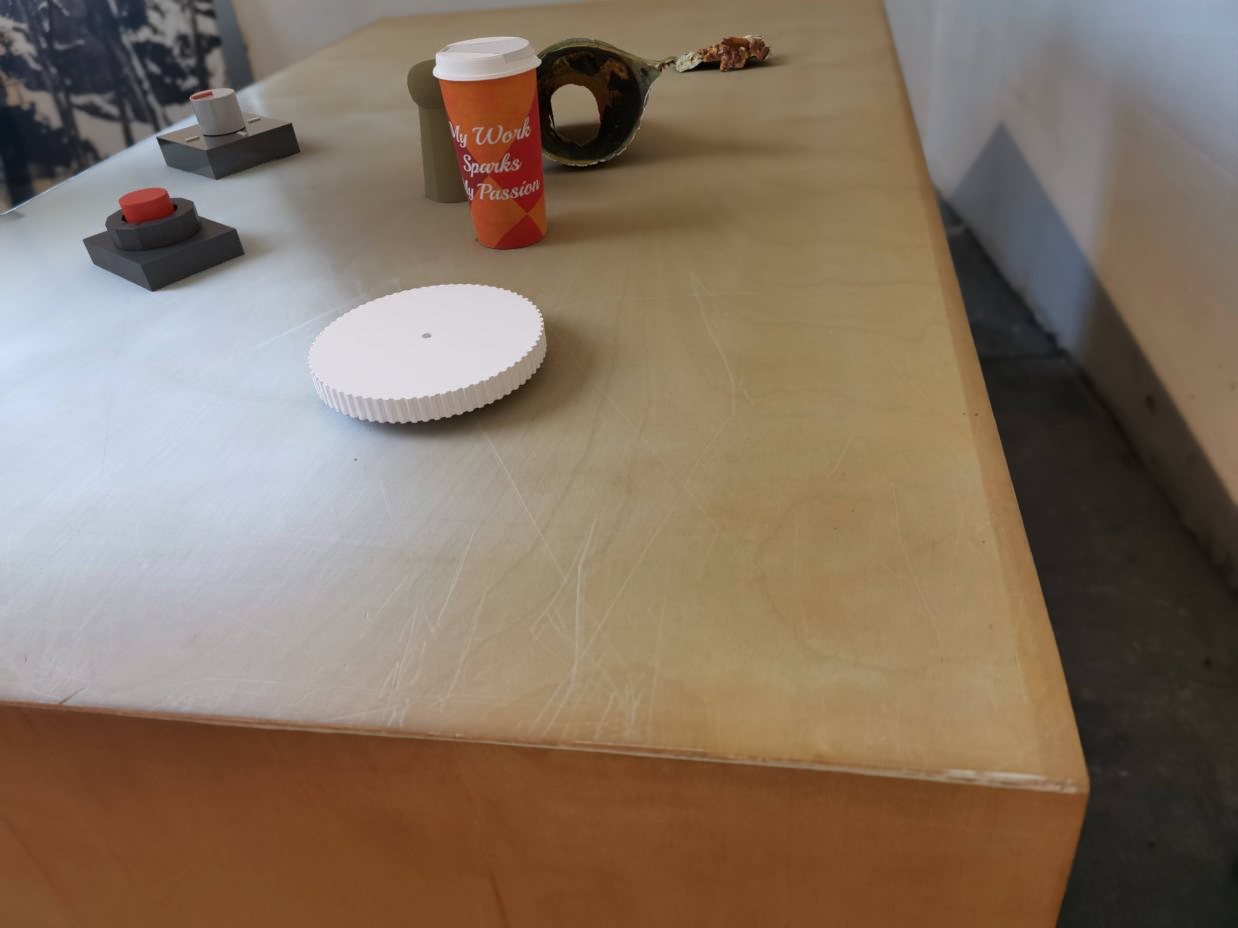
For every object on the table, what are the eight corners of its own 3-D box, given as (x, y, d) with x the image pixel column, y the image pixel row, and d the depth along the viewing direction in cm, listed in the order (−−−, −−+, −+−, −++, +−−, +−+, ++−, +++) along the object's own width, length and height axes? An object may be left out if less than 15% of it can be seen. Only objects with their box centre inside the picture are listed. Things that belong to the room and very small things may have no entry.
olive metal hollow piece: (631, 20, 90) (651, -16, 73) (675, 125, 94) (703, 114, 77) (484, 96, 91) (470, 78, 74) (533, 196, 95) (531, 201, 78)
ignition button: (119, 220, 68) (109, 199, 67) (161, 205, 70) (153, 184, 69) (140, 229, 66) (131, 207, 65) (184, 213, 69) (175, 192, 68)
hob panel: (166, 165, 92) (154, 135, 90) (249, 139, 98) (240, 110, 96) (216, 180, 86) (204, 148, 84) (300, 151, 92) (291, 121, 90)
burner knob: (231, 121, 93) (218, 83, 90) (253, 126, 90) (241, 87, 88) (193, 132, 90) (179, 94, 88) (215, 138, 88) (202, 98, 85)
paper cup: (452, 254, 67) (413, 62, 59) (480, 217, 73) (449, 37, 65) (549, 255, 66) (523, 57, 57) (570, 216, 72) (549, 32, 63)
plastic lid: (591, 380, 51) (587, 342, 49) (365, 469, 45) (353, 430, 44) (488, 298, 61) (482, 265, 59) (291, 364, 55) (279, 329, 54)
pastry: (669, 64, 111) (668, 34, 109) (760, 54, 112) (761, 23, 110) (680, 77, 106) (679, 45, 104) (776, 66, 107) (777, 34, 105)
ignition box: (93, 264, 71) (71, 217, 69) (183, 231, 76) (165, 186, 73) (152, 292, 66) (130, 242, 63) (245, 254, 70) (228, 207, 68)
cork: (465, 174, 82) (443, 50, 76) (504, 187, 79) (484, 57, 72) (412, 193, 79) (384, 65, 72) (450, 207, 76) (424, 74, 69)
